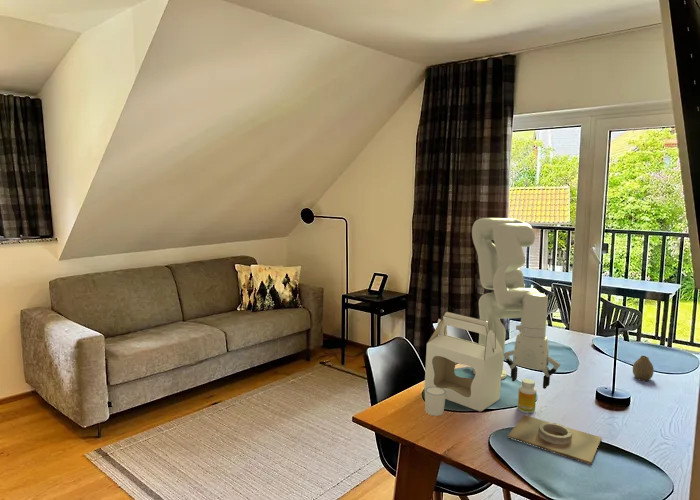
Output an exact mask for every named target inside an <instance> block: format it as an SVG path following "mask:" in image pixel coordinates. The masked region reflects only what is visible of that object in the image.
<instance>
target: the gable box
mask: <svg viewBox="0 0 700 500" xmlns="http://www.w3.org/2000/svg"><path fill="white" fill-rule="evenodd" d="M447 326H448V327H453V328H458V329H461V330H464V331H465V330H466V331H469V332H472V333H477V334H479V333H480V334H483V335H485V336H486V345H482V344H479V342H478V343H477V342H475V341H472V340H471V341H470V340H466V339H463V338H459V337H457V336H452V335H448V329H447V328H448V327H447ZM425 353H426V354H425V372H424V373H425V375H424V391H425V389H426V388H427V387H440V388H442V389H444V390H446V399H445V400H447V401H450V402H453V403H456V404H458V405H461V406H464V407H467V408H469V409H473V410H475V411H478V412H482V411H484V410H486V409H487V408H489V407H490V406H491V405H493V404H494V403H496V402H498V401H499V400H500V398H501V396H500V395H501V382H502V379H501V372H502V359H503V349H502V348H501V346H500V344H499V342H498V340H497V338H496V333H495V332H493V331H492V330H489V323H488V321H485V320H481V319H480V318H476V317H472V316H468V315H463V314H459V313H455V312H454V313H453V312H449V311H446V312H445V313H444V315H442V318H438V320H437V326H436V327H435V329H434V331H433V332H432V334H431V336H430V338H429V339H428V341H427V342H426V352H425ZM456 364H459V365H464V366H469V367H471V368H472V370H473V369H474V370H475V372H476V375H475V374H474V377H473V378H471V377H463V376H462V377H461V376H458V375H457V374H456V373H455V369H456Z"/></svg>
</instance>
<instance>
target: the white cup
mask: <svg viewBox="0 0 700 500" xmlns="http://www.w3.org/2000/svg"><path fill="white" fill-rule="evenodd" d="M446 400H447V399H446V390H444V389H442V388H440V387H427V388H426V389H425V390H424V403H425V404H424V406H425V413H426V414H428V415H430V416H433V417H434V416H435V417H437V416H438V417H439V416H442V415H443V414H444V410H445V404H446Z"/></svg>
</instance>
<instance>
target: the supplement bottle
mask: <svg viewBox="0 0 700 500" xmlns="http://www.w3.org/2000/svg"><path fill="white" fill-rule="evenodd" d="M535 385H536V382H535V381H534V379H533V380H532V379H530V378H522V379H521V385H520V386H519V387H518V395H517V406H516V407H517V410H518V411H521V412H522V413H526V414H532V413H534V412H535V411H536V401H537V389H536V387H535Z"/></svg>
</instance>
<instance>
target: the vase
mask: <svg viewBox="0 0 700 500" xmlns="http://www.w3.org/2000/svg"><path fill="white" fill-rule="evenodd" d="M654 368H655V367H654V365H653V363H652V362H651V360H650V358H649V357H648V356H646V355H641V356H640V357H639V358H638V359H637V360H635V361H634V363H633V366H632V374H633V376H634V377H635V379H637V380H639V379H640V381H643V380H645V381H646V380H647V381H649V380H651V379H652V378H653V376H654V372H655V369H654ZM645 381H644V382H645Z"/></svg>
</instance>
